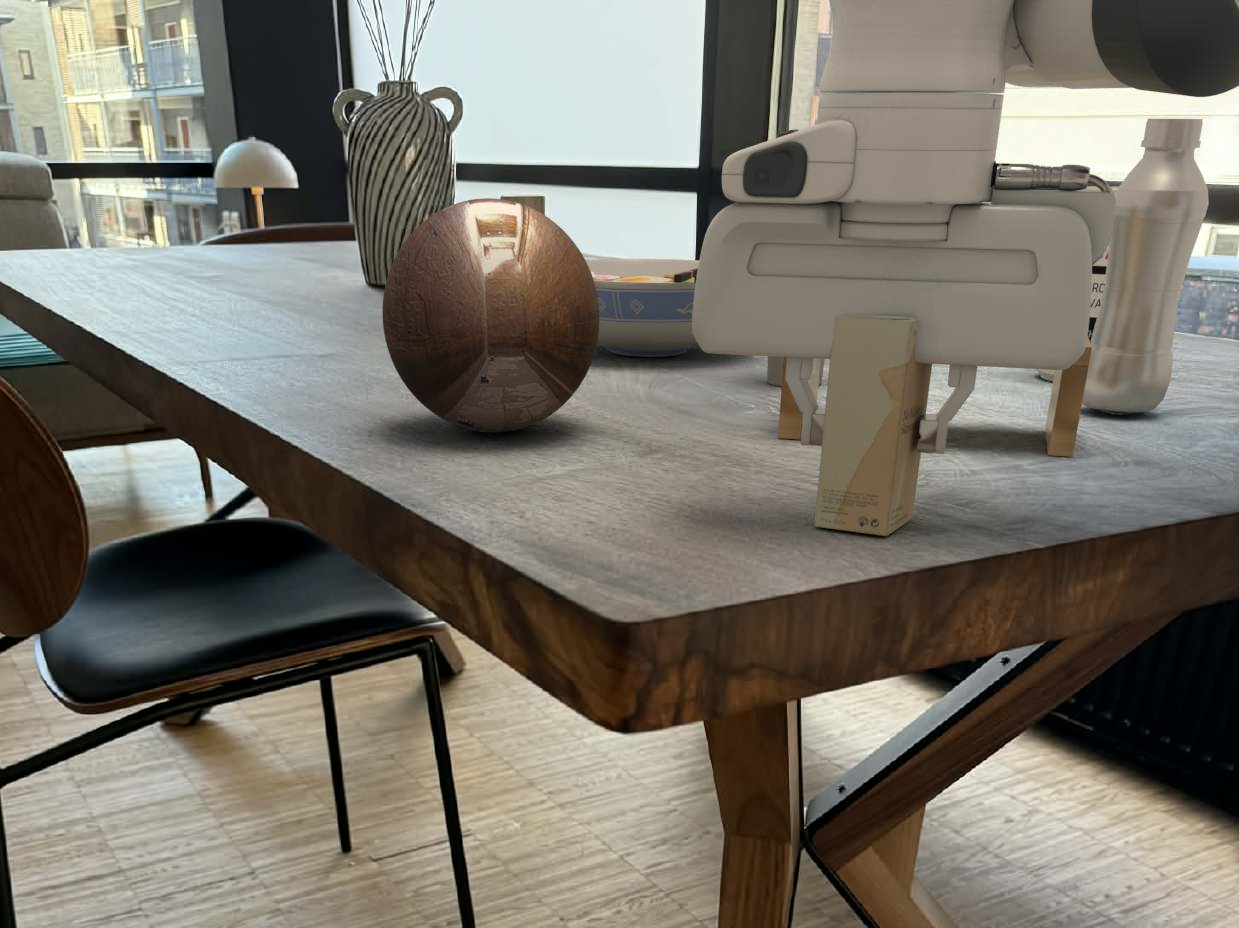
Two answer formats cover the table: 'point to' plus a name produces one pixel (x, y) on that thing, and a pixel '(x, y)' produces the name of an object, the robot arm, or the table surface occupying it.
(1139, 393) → the plastic bottle
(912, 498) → the box
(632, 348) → the ramen bowl
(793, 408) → the shelf
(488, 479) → the table surface
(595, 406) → the table surface
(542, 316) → the copper ball
